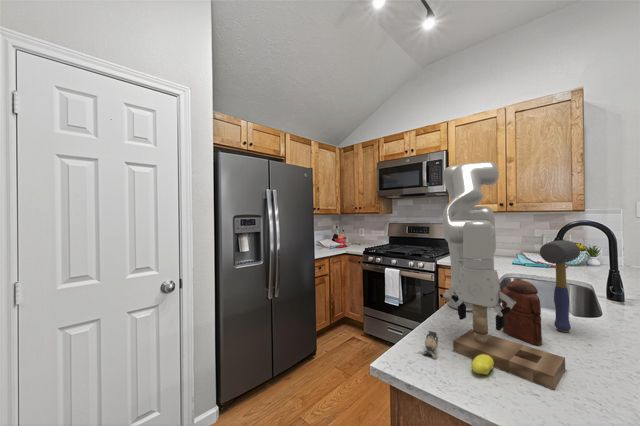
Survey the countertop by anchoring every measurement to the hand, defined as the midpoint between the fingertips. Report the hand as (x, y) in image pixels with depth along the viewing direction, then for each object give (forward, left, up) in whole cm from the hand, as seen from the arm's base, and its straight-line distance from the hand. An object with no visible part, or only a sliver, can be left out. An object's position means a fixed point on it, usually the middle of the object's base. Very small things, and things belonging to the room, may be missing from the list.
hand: (480, 323), depth 75 cm
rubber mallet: (+12, +34, -8) cm, 37 cm away
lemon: (+4, -10, -8) cm, 14 cm away
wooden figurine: (+5, +19, -8) cm, 21 cm away
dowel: (0, 0, -5) cm, 5 cm away
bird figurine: (-9, -12, -8) cm, 17 cm away
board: (+6, 0, -8) cm, 10 cm away
